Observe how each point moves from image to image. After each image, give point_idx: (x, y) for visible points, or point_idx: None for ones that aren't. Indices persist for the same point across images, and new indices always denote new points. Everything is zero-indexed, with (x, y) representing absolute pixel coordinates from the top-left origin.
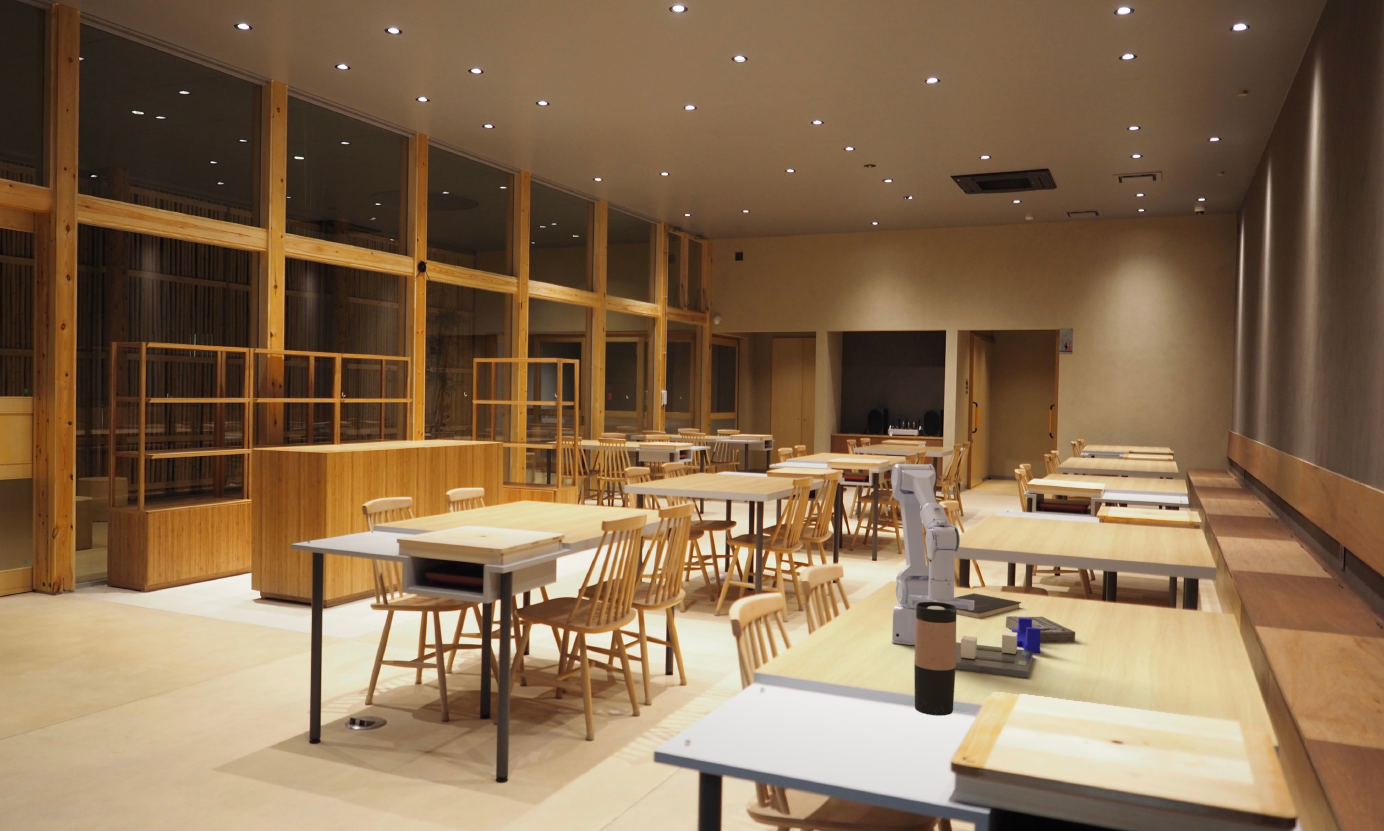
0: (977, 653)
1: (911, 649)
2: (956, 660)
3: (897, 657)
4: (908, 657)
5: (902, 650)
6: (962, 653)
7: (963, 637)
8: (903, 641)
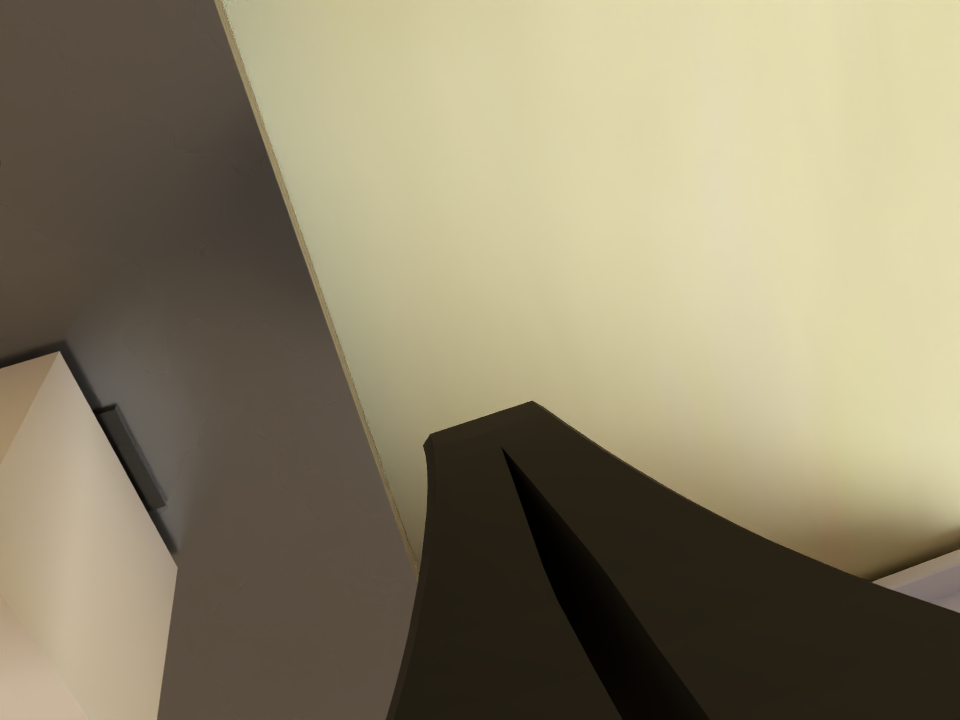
0: None
1: (821, 484)
2: (13, 152)
3: (903, 54)
4: (784, 157)
5: (895, 387)
6: (10, 388)
7: (52, 707)
8: (937, 599)
